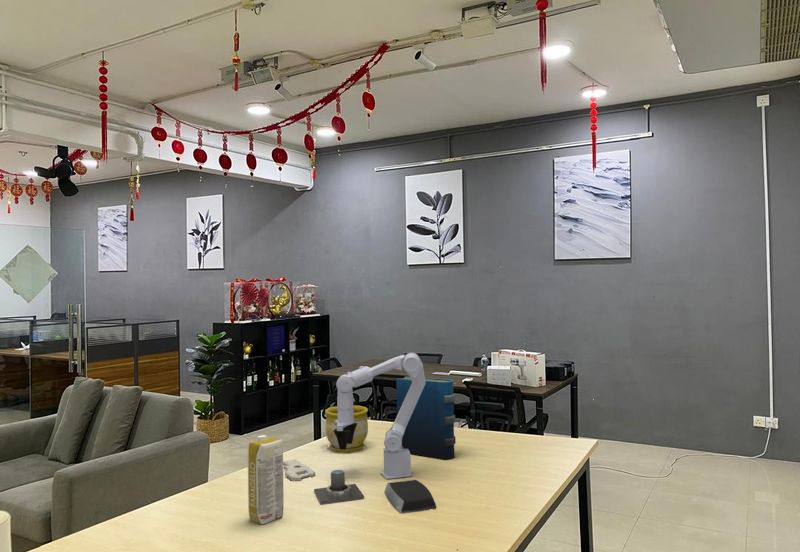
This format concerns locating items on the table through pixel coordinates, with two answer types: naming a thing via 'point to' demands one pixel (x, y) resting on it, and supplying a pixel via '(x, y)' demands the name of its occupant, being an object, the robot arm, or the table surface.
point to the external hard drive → (409, 496)
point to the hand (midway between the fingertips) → (346, 446)
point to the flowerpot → (359, 433)
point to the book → (429, 419)
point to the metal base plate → (338, 494)
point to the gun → (297, 470)
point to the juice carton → (265, 479)
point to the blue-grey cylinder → (337, 480)
